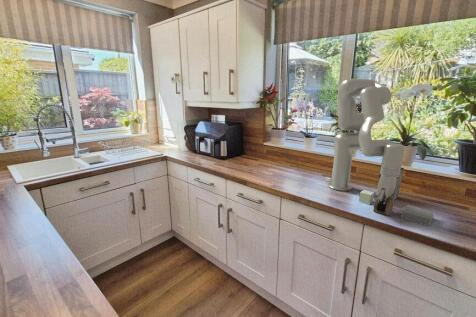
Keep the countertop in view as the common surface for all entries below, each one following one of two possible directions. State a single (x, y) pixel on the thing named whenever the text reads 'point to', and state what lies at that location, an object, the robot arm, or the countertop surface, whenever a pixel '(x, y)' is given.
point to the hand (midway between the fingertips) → (383, 208)
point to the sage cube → (366, 197)
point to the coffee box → (397, 185)
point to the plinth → (417, 215)
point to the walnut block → (388, 205)
